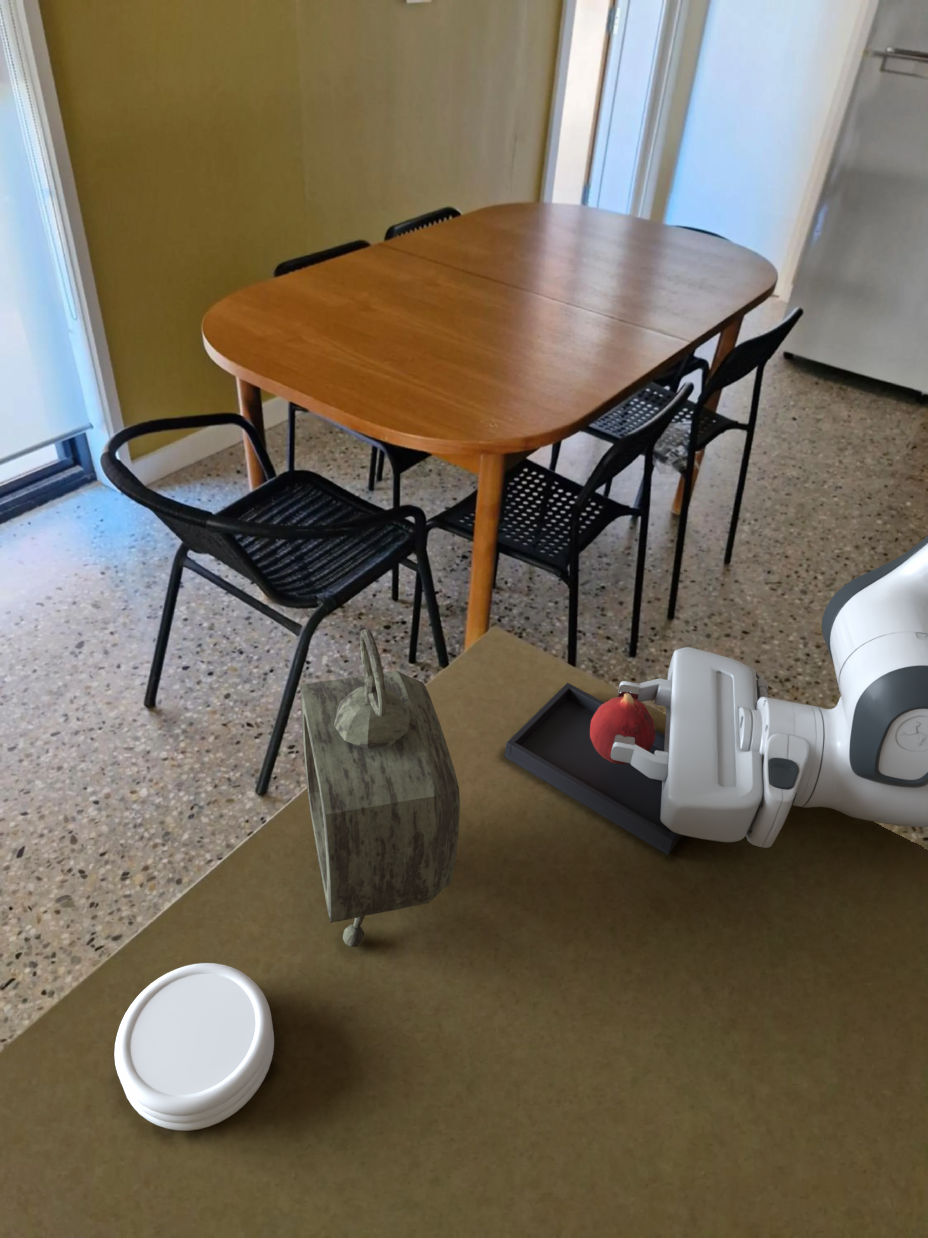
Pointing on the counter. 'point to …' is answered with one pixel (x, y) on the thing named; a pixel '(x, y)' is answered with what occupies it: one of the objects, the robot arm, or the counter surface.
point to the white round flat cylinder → (194, 1046)
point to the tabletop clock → (378, 792)
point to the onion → (621, 725)
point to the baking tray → (590, 767)
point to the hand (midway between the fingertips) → (615, 718)
